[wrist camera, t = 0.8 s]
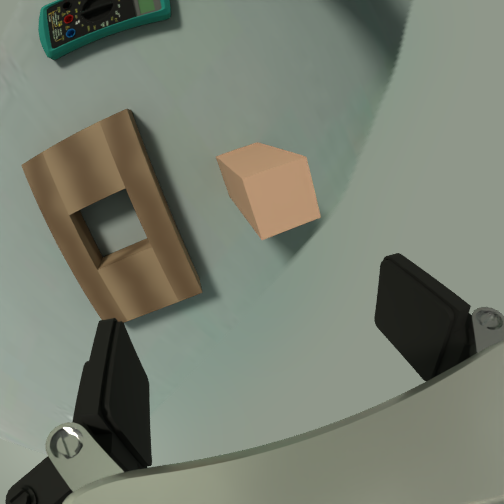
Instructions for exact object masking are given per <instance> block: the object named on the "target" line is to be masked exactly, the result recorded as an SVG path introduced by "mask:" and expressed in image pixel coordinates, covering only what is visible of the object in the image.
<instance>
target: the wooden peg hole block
mask: <svg viewBox="0 0 504 504" xmlns="http://www.w3.org/2000/svg"><path fill="white" fill-rule="evenodd" d="M22 168H23V170H24V173H25V175H26V178H27V180H28V183H29V185H30V188H31V190H32V192H33V194H34V197H35V199H36V201H37V204H38V206H39V208H40V210H41V212H42V214H43V217H44V219H45V221H46V223H47V225H48V227H49V229H50V231H51V233H52V235H53V237H54V239H55V241H56V243H57V245H58V247H59V248H60V250H61V252H62V254H63V256H64V258H65V260H66V261H67V263H68V265H69V267H70V269H71V270H72V272H73V274H74V276H75V277H76V279H77V281H78V282H79V284H80V286H81V288H82V289H83V291H84V293H85V294H86V296H87V297H88V299H89V301H90V302H91V304H92V305H93V307H94V309H95V310H96V312H97V313H98V315H99V316H100V318H101V319H102V320H106V319H111V318H116V319H117V320H118V322H119V321H122V322H123V323H124V322H127V321H129V320H132V319H135V318H137V317H140V316H143V315H145V314H148V313H150V312H153V311H156V310H158V309H161V308H164V307H166V306H169V305H171V304H174V303H177V302H179V301H182V300H184V299H187V298H190V297H192V296H195V295H197V294H200V293H202V288H201V283H200V278H199V276H198V274H197V272H196V270H195V267H194V265H193V263H192V261H191V258H190V256H189V254H188V251H187V249H186V247H185V245H184V242H183V240H182V238H181V235H180V233H179V231H178V228H177V226H176V224H175V221H174V219H173V216H172V214H171V212H170V209H169V207H168V204H167V202H166V200H165V197H164V195H163V192H162V190H161V187H160V185H159V182H158V180H157V177H156V175H155V172H154V170H153V167H152V165H151V162H150V159H149V157H148V154H147V152H146V149H145V146H144V144H143V141H142V138H141V136H140V133H139V130H138V127H137V125H136V122H135V119H134V117H133V114H132V111H131V110H129V109H125V110H123V111H121V112H119V113H116V114H114V115H112V116H110V117H108V118H106V119H103V120H101V121H99V122H97V123H95V124H93V125H91V126H89V127H87V128H85V129H83V130H81V131H79V132H77V133H76V134H74V135H72V136H70V137H68V138H66V139H64V140H63V141H61V142H59V143H57V144H55V145H54V146H52V147H50V148H49V149H47V150H45V151H43V152H42V153H40V154H38V155H37V156H35V157H34V158H32V159H30V160H29V161H27V162H26V163H24V164H22ZM125 188H126V190H127V193H128V195H129V198H130V200H131V202H132V204H133V207H134V209H135V211H136V214H137V216H138V218H139V220H140V222H141V225H142V227H143V229H144V231H145V233H146V236H147V239H145V240H142V241H140V242H137V243H135V244H133V245H130V246H128V247H126V248H123V249H121V250H119V251H116V252H114V253H112V254H110V255H107V256H105V257H102V255H101V253H100V251H99V249H98V247H97V245H96V243H95V241H94V239H93V237H92V235H91V233H90V231H89V229H88V227H87V225H86V223H85V221H84V219H83V216H82V214H81V212H80V209H82V208H84V207H87V206H89V205H91V204H93V203H95V202H97V201H99V200H101V199H103V198H105V197H107V196H110V195H112V194H114V193H116V192H118V191H120V190H123V189H125Z"/></svg>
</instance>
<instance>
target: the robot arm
mask: <svg viewBox="0 0 504 504" xmlns="http://www.w3.org/2000/svg"><path fill="white" fill-rule="evenodd" d="M469 310H470V305H469V304H467V303H466V302H465V301H464V300H462V299H461V298H460V297H459V296H457V295H456V294H455V293H453V292H452V291H451V290H449V289H448V288H447V287H445V286H444V285H443V284H441V283H440V282H439V281H437V280H436V279H435V278H433V277H432V276H431V275H429V274H428V273H426V272H425V271H424V270H422V269H421V268H420V267H418V266H417V265H415V264H414V263H413V262H411V261H410V260H408V259H407V258H406V257H404V256H403V255H401V254H399V253H396V254H393V255H389V256H386V257H385V258H384V260H383V261H382V262H381V265H380V275H379V285H378V294H377V303H376V311H375V324H376V326H377V327H378V329H379V330H380V331H381V332H382V333H383V334H384V335H385V336H386V338H388V340H389V341H390V342H391V343H392V344H393V345H394V347H395V348H396V349H397V350H398V351H399V352H400V353H401V354H402V356H403V357H404V358H405V359H406V360H407V361H408V362H409V364H410V365H411V366H412V367H413V368H414V369H415V370H416V372H417V373H418V374H419V375H420V376H421V377H422V379H423V380H425V381H427V382H425V383H423V384H421V385H419V386H417V387H415V388H413V389H411V390H409V391H407V392H405V393H403V394H401V395H399V396H397V397H395V398H392V399H390V400H388V401H386V402H384V403H381V404H379V405H377V406H375V407H372V408H370V409H368V410H365V411H363V412H360V413H358V414H355V415H353V416H350V417H348V418H345V419H343V420H340V421H337V422H334V423H332V424H329V425H326V426H324V427H321V428H318V429H315V430H312V431H309V432H306V433H303V434H300V435H296V436H294V437H290V438H287V439H284V440H280V441H277V442H273V443H269V444H266V445H262V446H258V447H255V448H250V449H246V450H242V451H238V452H233V453H229V454H224V455H219V456H214V457H210V458H204V459H199V460H194V461H188V462H182V463H176V464H169V465H163V466H157V467H151V468H147V466H151V465H152V456H151V437H150V404H149V381H148V378H147V375H146V373H145V371H144V369H143V367H142V364H141V362H140V360H139V358H138V356H137V353H136V351H135V349H134V347H133V344H132V342H131V340H130V337H129V335H128V333H127V330H126V328H125V325H124V323H123V322H122V321H119V322H118V320H117V319H116V318H111V319H106V320H100V321H99V323H98V327H97V331H96V335H95V339H94V343H93V347H92V351H91V355H90V360H89V361H87V362H86V363H85V364H84V367H83V372H82V376H81V381H80V385H79V390H78V395H77V400H76V406H75V411H74V417H73V422H72V423H64V424H61V425H59V426H57V427H55V428H54V429H53V430H52V431H51V432H50V434H49V436H48V437H47V440H46V452H47V454H48V457H47V458H45V459H44V460H43V461H42V462H41V463H39V464H38V465H37V466H36V467H35V468H33V469H32V470H31V471H30V472H29V473H28V474H26V475H25V476H24V477H23V478H21V479H20V480H19V481H18V482H17V483H16V484H14V485H13V486H12V487H11V488H10V490H9V491H8V493H7V495H6V504H504V316H503V315H502V314H501V313H500V312H499V311H497V310H495V309H493V308H488V307H481V308H477V309H476V310H474V312H473V313H472V315H471V314H469Z"/></svg>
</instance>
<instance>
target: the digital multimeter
mask: <svg viewBox="0 0 504 504" xmlns="http://www.w3.org/2000/svg"><path fill="white" fill-rule="evenodd" d="M80 11H81V12H80ZM170 17H171V8H170V0H57V1H54V2H52V3H50V4H48V5H45V6H43V7H42V8H41V11H40V17H39V37H40V41H41V44H42V47H43V49H44V51H45V53H46V55H47V57H49V58H51V59H53V60H56V59H58V58H60V57H62V56H64V55H66V54H68V53H69V52H71V51H73V50H76V49H78V48H80V47H82V46H84V45H87V44H89V43H91V42H93V41H96V40H98V39H101V38H103V37H106V36H109V35H112V34H114V33H117V32H120V31H124V30H127V29H130V28H133V27H137V26H141V25H145V24H149V23H153V22H157V21H162V20H166V19H169V18H170ZM82 18H83V19H82ZM47 20H48V21H47ZM86 21H87V22H86ZM79 37H80V38H79ZM72 40H73V41H72ZM50 41H51V42H50ZM61 45H62V46H61Z"/></svg>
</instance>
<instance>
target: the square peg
mask: <svg viewBox="0 0 504 504" xmlns="http://www.w3.org/2000/svg"><path fill="white" fill-rule="evenodd" d="M216 158H217V161H218V164H219V167H220V170H221V173H222V176H223V179H224V182H225V184H226V187H227V190H228V193H229V196H230V198H231V199H232V200H233V202H234V203H235V204H236V206H237V207H238V208H239V210H240V211H241V213H242V214H243V215H244V217H245V218H246V219H247V221H248V222H249V223H250V225H251V226H252V227H253V229H254V230H255V231H256V233H257V234H258V235H259V237H260V238H261V240H264V239H266V238H269V237H272V236H274V235H277V234H279V233H282V232H284V231H287V230H290V229H292V228H295V227H297V226H300V225H302V224H305V223H308V222H310V221H313V220H315V219H318V218H321V216H320V212H319V207H318V203H317V199H316V195H315V190H314V186H313V182H312V178H311V174H310V170H309V166H308V162H307V158H306V157H305V156H302V155H299V154H295V153H292V152H289V151H285V150H282V149H279V148H275V147H272V146H268V145H265V144H261V143H254V144H251V145H248V146H245V147H242V148H239V149H236V150H233V151H231V152H228V153H225V154H222V155H219V156H217V157H216Z"/></svg>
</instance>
